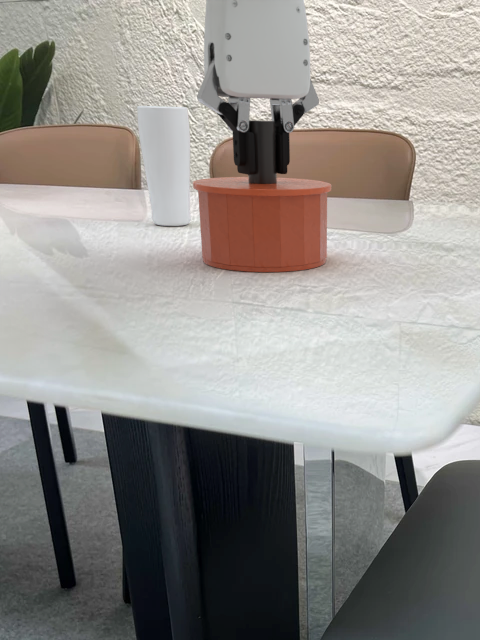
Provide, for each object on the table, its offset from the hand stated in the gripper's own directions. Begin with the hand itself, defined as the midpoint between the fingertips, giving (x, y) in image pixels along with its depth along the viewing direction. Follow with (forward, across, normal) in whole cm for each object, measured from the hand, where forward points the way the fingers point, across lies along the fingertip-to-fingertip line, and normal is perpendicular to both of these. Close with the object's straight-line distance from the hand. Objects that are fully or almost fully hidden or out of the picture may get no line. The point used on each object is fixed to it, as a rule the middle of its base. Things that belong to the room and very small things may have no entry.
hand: (262, 171), depth 82 cm
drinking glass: (+9, 0, -31) cm, 32 cm away
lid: (+2, 0, 0) cm, 2 cm away
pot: (+9, 0, 0) cm, 9 cm away
